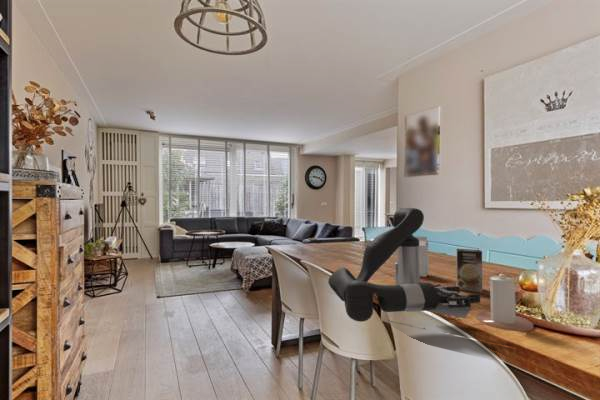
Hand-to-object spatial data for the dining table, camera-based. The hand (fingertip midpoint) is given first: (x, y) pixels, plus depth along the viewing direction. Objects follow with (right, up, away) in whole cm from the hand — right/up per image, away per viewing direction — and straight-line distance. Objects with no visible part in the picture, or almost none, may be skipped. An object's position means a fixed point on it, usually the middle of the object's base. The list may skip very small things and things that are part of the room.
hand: (468, 294), depth 91 cm
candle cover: (+11, -8, +2) cm, 14 cm away
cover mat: (0, -9, +12) cm, 15 cm away
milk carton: (+11, -10, +65) cm, 67 cm away
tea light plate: (+11, -9, +2) cm, 14 cm away
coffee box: (+21, -10, +38) cm, 44 cm away
